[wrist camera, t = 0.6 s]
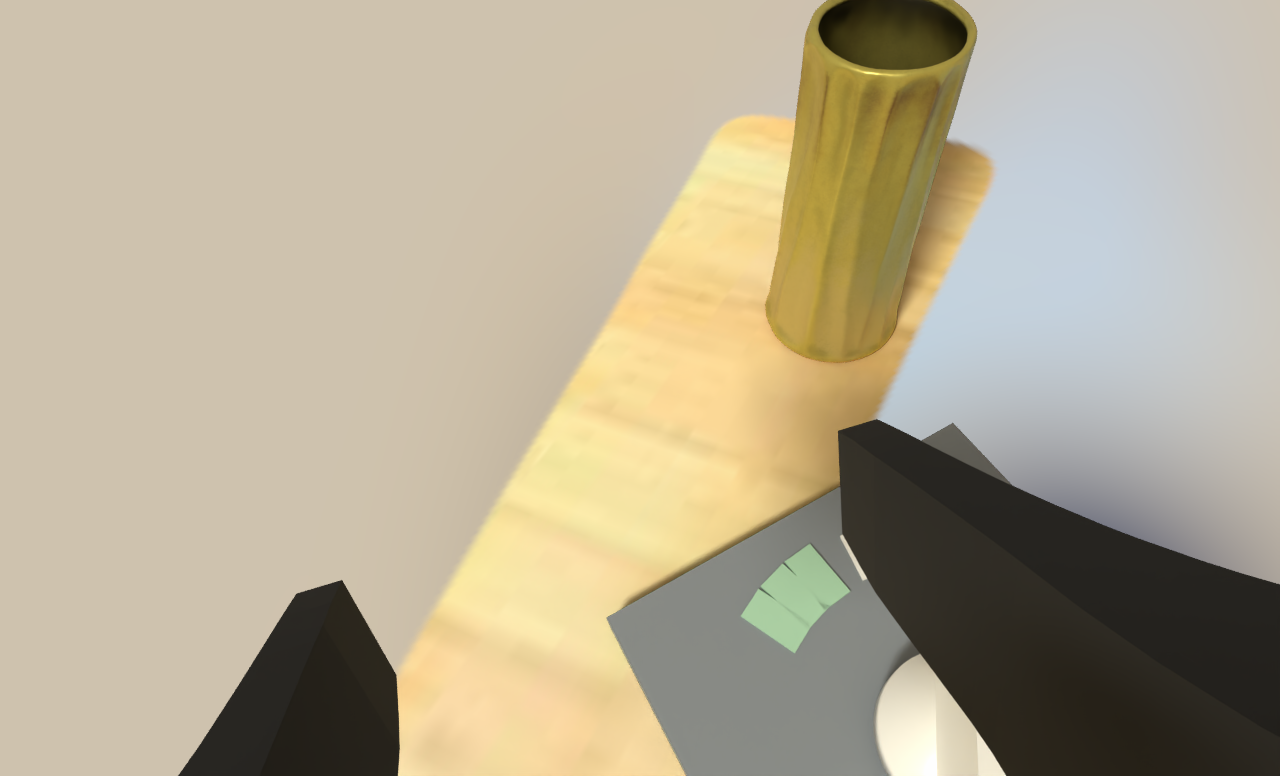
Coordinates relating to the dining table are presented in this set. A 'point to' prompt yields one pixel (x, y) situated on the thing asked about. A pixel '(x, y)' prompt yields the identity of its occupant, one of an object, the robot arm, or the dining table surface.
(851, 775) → the dial board
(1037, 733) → the robot arm
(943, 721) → the knob
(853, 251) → the vase
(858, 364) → the dining table surface
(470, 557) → the dining table surface
